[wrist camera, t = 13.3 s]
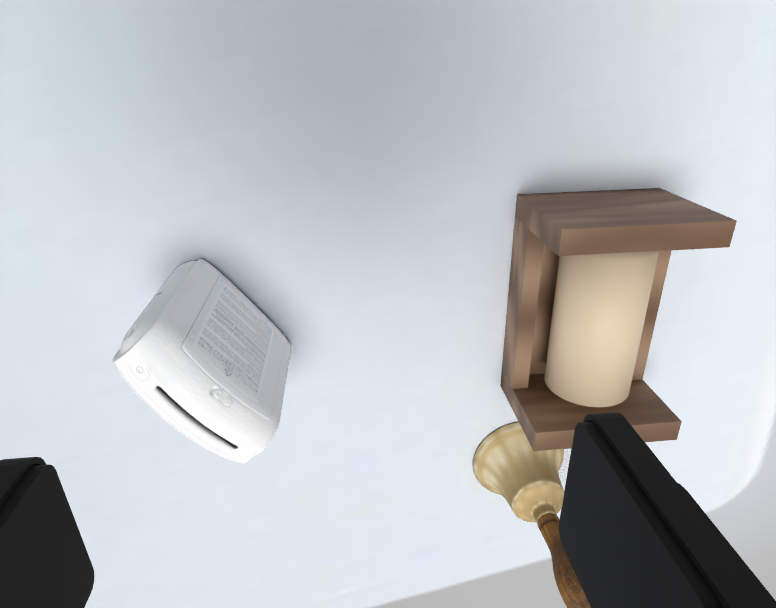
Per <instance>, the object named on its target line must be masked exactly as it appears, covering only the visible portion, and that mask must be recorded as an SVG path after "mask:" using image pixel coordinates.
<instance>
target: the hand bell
mask: <svg viewBox="0 0 776 608" xmlns="http://www.w3.org/2000/svg"><path fill="white" fill-rule="evenodd" d="M563 454H564V449H556V450H544V451H533V449H532V447H531V445H530V443H529V441H528V439H527V437H526V435H525V433H524V431H523V429H522V427H521V425H520V423H519V422H516V423H512V424H508V425H505V426H503V427H501V428H499V429H497V430H496V431H494V432H493V433H492V434H490V435H489V436H488V437H486V438H485V439H484V440H483V442H482V443H481V444H480V445H479V447H478V448H477V451H476V453H475V456H474V460H473V470H474V474H475V476H476V478H477V480H478V481H479V482H480V484H481V485H483V486H484V487H485V488H487V489H488V490H490V491H491V492H494V493H496V494H500V495H503V497H504V498H505V499H506V500H507V502H508V503H509V505H510V507H511V508H512V510H513V512H514V513H515V515H516V516H517V517H518V518H520V519H522V520H524V521H527V522H537V524H538V527H539V529H540V531H541V533H542V535H543V537H544V539H545V541H546V543H547V545H548V547H549V549H550V552H551V556H552V562H553V571H554V576H555V580H556V583H557V586H558V589H559V592H560V594H561V596H562V598H563V600H564V603H565V604H566V606H567V608H591V606H590V604H589V602H588V600H587V598H586V596H585V593H584V591H583V589H582V587H581V585H580V583H579V580H578V578H577V576H576V574H575V572H574V570H573V568H572V565H571V563H570V561H569V559H568V557H567V555H566V552H565V550H564V548H563V546H562V543H561V540H560V535H559V521H560V520H559V518H558V517H557V513H558V512H559V511H560V509H561V508H562V503H563V497H564V490H563V487H562V485H561V482H560V479H559V474H558V471H559V469H560V467H561V464H562V461H563Z"/></svg>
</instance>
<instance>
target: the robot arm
mask: <svg viewBox="0 0 776 608" xmlns="http://www.w3.org/2000/svg"><path fill="white" fill-rule="evenodd" d="M559 535H560V540H561V543H562V546H563V548H564V550H565V552H566V555H567V557H568V559H569V561H570V563H571V565H572V568H573V570H574V572H575V574H576V576H577V578H578V580H579V583H580V585H581V587H582V589H583V591H584V593H585V596H586V598H587V600H588V602H589V604H590V606H591V608H776V601H775V600H774V598H773V597H772V596H771V595H770V593H769V592H768V591H767V590H766V589H765V587H764V586H763V585H762V583H761V582H760V581H759V580H758V578H757V577H756V576H755V575H754V573H753V572H752V571H751V570H750V569H749V567H748V566H747V565H746V564H745V562H744V561H743V560H742V559H741V557H740V556H739V555H738V554H737V552H736V551H735V550H734V549H733V547H732V546H731V545H730V544H729V542H728V541H727V540H726V539H725V537H724V536H723V535H722V534H721V533H720V531H719V530H718V529H717V528H716V526H715V525H714V524H713V523H712V521H711V520H710V519H709V518H708V516H707V515H706V514H705V513H704V511H703V510H702V509H701V508H700V506H699V505H698V504H697V503H696V501H695V500H694V499H693V498H692V496H691V495H690V494H689V493H688V491H687V490H686V489H685V488H683V487H682V486H681V485H680V484H678V483H677V482H676V481H675V480H674V479H673V477H672V476H671V475H670V474H669V472H668V471H667V470H666V469H665V467H664V466H663V465H662V463H661V462H660V461H659V460H658V458H657V457H656V456H655V455H654V453H653V452H652V451H651V450H650V448H649V447H648V446H647V445H646V443H645V442H644V441H643V440H642V438H641V437H640V436H639V435H638V433H637V432H636V431H635V430H634V428H633V427H632V426H631V425H630V423H629V422H628V421H627V420H626V418H625V417H624V416H623V415H622V414H621V413H619V412H609V413H596V414H588V415H586V416H585V418H584V421H583V423H577V425H576V427H575V432H574V438H573V444H572V450H571V456H570V461H569V467H568V473H567V479H566V485H565V491H564V497H563V503H562V509H561V515H560V521H559ZM93 584H94V570H93V566H92V564H91V561H90V558H89V556H88V553H87V551H86V548H85V545H84V543H83V540H82V537H81V535H80V532H79V530H78V527H77V524H76V522H75V519H74V516H73V514H72V511H71V509H70V506H69V503H68V501H67V498H66V496H65V493H64V490H63V488H62V485H61V482H60V480H59V477H58V475H57V472H56V470H55V468H54V467H53V466H52V465H46V463H45V462H44V460H43V459H41V458H40V457H29V458H16V459H3V460H1V461H0V608H84V607H85V605H86V603H87V600H88V598H89V596H90V594H91V591H92V588H93Z"/></svg>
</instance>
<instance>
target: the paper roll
mask: <svg viewBox="0 0 776 608" xmlns="http://www.w3.org/2000/svg"><path fill="white" fill-rule="evenodd" d="M658 255H659V251H647V252H628V253H609V254H591V255H572V256H560V257H559V265H558V273H557V281H556V289H555V297H554V305H553V313H552V321H551V329H550V337H549V345H548V353H547V361H546V368H545V376H544V379H545V383H546V385H547V386H548V388H549V389H550V390H551V391H552V392H553V393H555V394H556V395H557V396H559V397H561V398H562V399H564V400H567V401H569V402H572V403H575V404H578V405H582V406H588V407H609V406H614V405H617V404H620V403H621V402H623V401H624V400H626V398H627V397H628V395H629V392H630V387H631V382H632V378H633V373H634V368H635V363H636V359H637V354H638V349H639V345H640V340H641V335H642V330H643V326H644V321H645V316H646V311H647V307H648V302H649V297H650V293H651V288H652V283H653V278H654V274H655V269H656V264H657V259H658Z"/></svg>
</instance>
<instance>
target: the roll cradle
mask: <svg viewBox="0 0 776 608" xmlns="http://www.w3.org/2000/svg"><path fill="white" fill-rule="evenodd" d="M735 225H736V220H733V219H731V218H729V217H726V216H724V215H722V214H719V213H717V212H715V211H712V210H710V209H708V208H705V207H703V206H700V205H698V204H696V203H693V202H691V201H689V200H686V199H684V198H682V197H679V196H677V195H675V194H672V193H670V192H667V191H665V190H663V189H660V188H654V189H631V190H609V191H586V192H563V193H541V194H518V195H517V203H516V215H515V226H514V238H513V249H512V261H511V272H510V284H509V295H508V307H507V318H506V330H505V341H504V353H503V364H502V376H501V387H502V389H503V391H504V393H505V395H506V397H507V399H508V401H509V403H510V405H511V407H512V409H513V411H514V413H515V415H516V417H517V419H518V421H519V423H520V425H521V427H522V429H523V431H524V433H525V435H526V437H527V439H528V441H529V443H530V445H531V447H532V449H533V451H544V450H556V449H568V448H572V444H573V438H574V432H575V427H576V425H577V423H583V421H584V418H585V416H586V415H588V414H596V413H609V412H619V413H621V414H622V415H623V416H624V417H625V418H626V420H627V421H628V422H629V423H630V425H631V426H632V427H633V428H634V430H635V431H636V432H637V433H638V435H639V436H640V437H641V438H642V440H643V441H644V442H653V441H665V440H677V436H678V432H679V429H680V425H681V422H682V421H681V420H680V419H679V418H678V417H677V416H676V415H675V414H674V413H673V412H672V411H671V410H670V409H669V408H668V406H667V405H666V404H665V403H664V402H663V401H662V400H661V399H660V398H659V397H658V396H657V395H656V394H655V393H654V392H653V390H652V389H651V388H650V387H649V386H648V385H647V384H646V383H645V382H644V381H643V380H642V379H643V374H644V370H645V365H646V361H647V356H648V352H649V347H650V343H651V339H652V334H653V330H654V325H655V321H656V316H657V312H658V307H659V303H660V299H661V294H662V290H663V285H664V281H665V276H666V272H667V267H668V263H669V259H670V254H671V250H684V249H703V248H721V247H730V243H731V239H732V236H733V232H734V229H735ZM647 251H659V255H658V259H657V264H656V269H655V274H654V278H653V283H652V288H651V293H650V297H649V302H648V307H647V311H646V316H645V321H644V326H643V330H642V335H641V340H640V345H639V349H638V354H637V359H636V363H635V368H634V373H633V378H632V382H631V387H630V392H629V395H628V397H627V398H626V400H624V401H623V402H621V403H620V404H617V405H614V406H609V407H588V406H582V405H578V404H575V403H572V402H569V401H567V400H564V399H562V398H561V397H559V396H557V395H556V394H555V393H553V392H552V391H551V390H550V389H549V388H548V386H547V385H546V383H545V379H544V376H545V368H546V361H547V353H548V345H549V337H550V329H551V321H552V313H553V305H554V297H555V289H556V281H557V273H558V265H559V257H560V256H572V255H591V254H609V253H628V252H647Z"/></svg>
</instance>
